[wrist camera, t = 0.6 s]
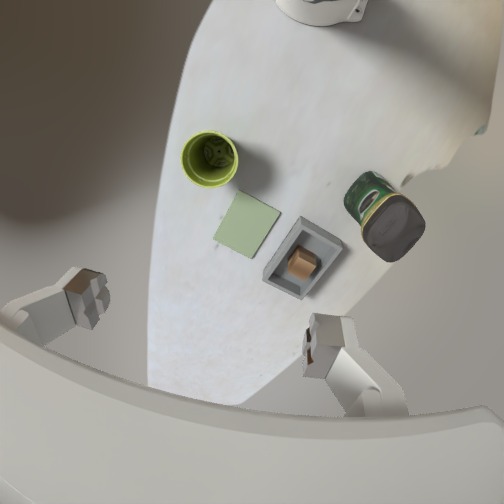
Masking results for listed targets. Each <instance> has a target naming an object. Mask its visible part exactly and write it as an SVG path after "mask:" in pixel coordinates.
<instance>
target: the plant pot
mask: <svg viewBox="0 0 504 504" xmlns="http://www.w3.org/2000/svg"><path fill="white" fill-rule="evenodd" d="M217 138H220V139H221V140H216V141H214V139H217ZM231 147H232V149H233V153H231ZM207 150H208V155H209V157H208V156H207V154H206V151H207ZM218 151H221V152H220V153H218ZM180 160H181V166H182V169H183V172H184V173H185V175H186V176H187V178H188V179H189V180H190V181H191V182H193V183H194V184H196V185H198V186H201V187H204V188H216V187H220V186H222V185H224V184H226V183H227V182H229V181H230V180H231V179H232V178H233V176H234V175H235V173H236V171H237V167H238V153H237V150H236V147H235V145H234V143H233V142H232V141H231V140H230V139H229V138H228V137H226V136H225V135H223V134H221V133H219V132H216V131H202V132H199V133H196V134H195V135H193V136H192V137H190V138H189V139H188V140H187V141H186V143H185V144H184V146H183V148H182V151H181V157H180ZM223 162H225V164H222V165H219V164H218V163H223Z"/></svg>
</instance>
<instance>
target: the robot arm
mask: <svg viewBox="0 0 504 504" xmlns="http://www.w3.org/2000/svg"><path fill="white" fill-rule="evenodd" d="M275 1H276V3H277V5H278V6H279V8H280V9H281V10H282V11H283V12H284V13H285V14H286V15H288V16H289V17H291V18H292V19H294V20H296V21H298V22H301V23H304V24H308V25H313V26H328V25H333V24H336V23H339V22H344V21H346V22H359V21H361V19H362V17H363V14H364V11H365V8H366V5H367V2H368V0H275ZM355 10H358V11H359V12H356V11H355ZM106 283H107V279H106V275H105V274H103V273H100V272H96V271H93V270H90V269H86V268H82V267H78V266H74V267H72V268H71V269H70V270H69V271H68V272H67V273H66V274H65V275H64V276H63V277H62V278H61V279H60V280H59V281H58V282H57V283H56V284H55V285H54V286H48V287H46V288H43V289H41V290H38V291H35V292H33V293H30V294H28V295H25V296H23V297H20V298H18V299H15V300H13V301H10V302H8V303H7V304H6V306H5V307H4V308H3V309H2V310H1V311H0V504H504V421H503V420H502V419H501V418H500V417H499V416H498V415H497V414H496V413H495V412H494V411H493V410H492V409H490V408H489V407H487V406H483V405H480V406H474V407H469V408H463V409H457V410H451V411H445V412H437V413H429V414H419V415H409V413H408V408H407V405H406V400H405V396H404V392H403V389H402V388H401V387H400V386H399V385H398V384H397V383H396V381H394V379H393V378H391V377H390V375H389V374H388V373H387V372H386V371H385V370H384V369H383V368H382V367H381V366H380V365H379V364H378V363H377V362H376V361H375V360H374V359H373V358H372V357H371V356H370V355H369V354H368V353H367V352H366V351H365V350H364V349H360V347H359V343H358V338H357V334H356V330H355V325H354V321H353V318H352V317H346V316H334V315H326V314H318V313H312V315H311V317H310V320H309V325H310V327H309V328H308V329H306V332H305V335H304V340H303V348H302V353H303V355H304V356H305V358H304V360H303V377H311V378H320V379H325V381H326V383H327V384H328V386H329V387H330V389H331V390H332V392H333V393H334V395H335V397H336V398H337V399H338V401H339V402H340V404H341V406H342V407H343V409H344V410H345V412H346V414H345V415H344V417H322V416H306V415H294V414H283V413H274V412H266V411H258V410H252V409H245V408H238V407H233V406H227V405H222V404H217V403H212V402H207V401H202V400H198V399H193V398H189V397H185V396H181V395H177V394H173V393H169V392H165V391H162V390H158V389H155V388H151V387H148V386H145V385H141V384H138V383H135V382H132V381H129V380H126V379H123V378H120V377H117V376H114V375H111V374H108V373H106V372H103V371H101V370H98V369H95V368H93V367H90V366H88V365H85V364H83V363H80V362H78V361H76V360H73V359H71V358H69V357H66V356H64V355H62V354H60V353H57V352H55V351H53V350H51V349H49V348H47V347H45V346H44V345H46V344H47V343H49V342H51V341H52V340H54V339H55V338H57V337H59V336H61V335H62V334H64V333H66V332H67V331H69V330H70V329H72V328H74V327H75V326H76V325H78V326H81V327H84V328H87V329H90V330H93V328H94V327H95V325H96V324H97V322H98V321H99V320H100V318H99V315H100V314H102V313H105V311H106V310H107V308H108V306H109V303H110V293H109V290H108V289H107V287H106V286H105V285H106Z"/></svg>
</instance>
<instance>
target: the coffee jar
mask: <svg viewBox="0 0 504 504" xmlns="http://www.w3.org/2000/svg"><path fill="white" fill-rule="evenodd" d="M344 206H345V208H346V209H347V211H348V212H349V213H350V215H351V216H352V217H353V218H354V219H355V220H356V221H357V222H358V223H359V224H360V226H361V235H362V238H363V241H364V242H365V243H366V245H367V246H368V247H369V248H370V249H371V250H372V251H373V252H374V253H375V254H376V255H378V256H379V257H380V258H381V259H383V260H384V261H386V262H395V261H397V260H399V259H400V258H402V257H403V256H404V255H405V254H406V253H407V252H408V251H409V250H410V249H411V248H412V247H413V246H414V245H415V243H416V242H417V241H418V240H419V238H420V237H421V236H422V234H423V233H424V230H425V221H424V219H423V217H422V216H421V214H420V212H419V211H418V209H417V207H416V206H415V205H414V204H413V202H411V200H409V199H408V198H407V197H405V196H404V195H402V194H400V193H396V192H395V190H394V189H393V188H392V186H391V185H390V184H389V183H388V182H387V181H386V180H385V179H384V178H383V177H382V176H380V175H379V174H378V173H376V172H373V171H368V172H365V173H363V174H362V175H361V176H360V177H359V178H358V179H357V180H356V181H355V182H354V183H353V185H352V186H351V187H350V189H349V190H348V191H347V193H346V195H345V197H344Z"/></svg>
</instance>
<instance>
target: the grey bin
mask: <svg viewBox="0 0 504 504" xmlns="http://www.w3.org/2000/svg"><path fill="white" fill-rule="evenodd" d="M297 245H300V246H302V247H304V248H305V249H307V250H309V251H311V252H313V253H314V254H315V260H316V268H315V269H314V270H313V272H312V273H311V274H310V275H309V277H308V278H307V279H306V281H303V280H301V279H299V278H298V277H296V276H294V275H292V274H290V273H288V258H289V257H290V255H291V254H292V252H293V251H294V250H295V248H296V247H297ZM342 249H343V247H342V244H341V241H340V239H339V238H337V237H335V236H334V235H332V234H330V233H329V232H327V231H325V230H324V229H322V228H320V227H319V226H317V225H315V224H313V223H312V222H310V221H308V220H307V219H305V218H303V217H301V216H300V217H299V218H298V220H297V221H296V223H295V224H294V226H293V227H292V229H291V230H290V232H289V233H288V235H287V236H286V238H285V239H284V241H283V242H282V244H281V245H280V247H279V248H278V250H277V251H276V253H275V254H274V256H273V257H272V259H271V260H270V262H269V263H268V265H267V266H266V268H265V269H264V272H263V279H262V281H264V282H266V283H268V284H270V285H272V286H274V287H276V288H278V289H280V290H282V291H284V292H286V293H288V294H290V295H292V296H294V297H296V298H298V299H300V300H302V299H303V298H304V297H305V296H306V294H307V293H308V292H309V291H310V290H311V288H312V287H313V286H314V285H315V284H316V282H317V281H318V280H319V279H320V277H321V276H322V275H323V274H324V272H325V271H326V270H327V269H328V267H329V266H330V265H331V263H332V262H333V261H334V260H335V258H336V257H337V256H338V255H339V253H340V252H341V251H342Z"/></svg>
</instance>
